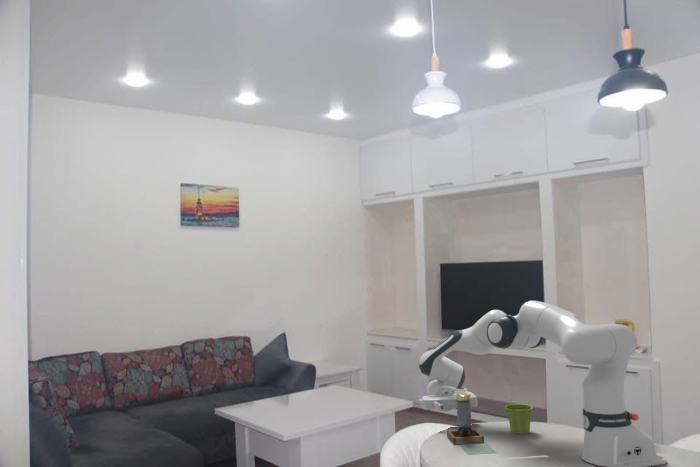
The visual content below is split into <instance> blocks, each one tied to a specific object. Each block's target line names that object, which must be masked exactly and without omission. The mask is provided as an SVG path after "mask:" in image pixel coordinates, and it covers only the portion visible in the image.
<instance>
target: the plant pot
mask: <svg viewBox="0 0 700 467" xmlns="http://www.w3.org/2000/svg"><path fill="white" fill-rule="evenodd" d="M504 409H505V411H506V413H507V417H508V421H509V422H508V423H509V427H510V428H509V429H510V432H512V433H515V434H522V435H529V434H530V432H531V431H530V430H531V418H532V417H531V416H532V413H533V412H532V411H533V409H534V408H533V405H530V404H524V403H523V404H522V403H513V404H512V403H511V404H507V405H505V406H504Z"/></svg>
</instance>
